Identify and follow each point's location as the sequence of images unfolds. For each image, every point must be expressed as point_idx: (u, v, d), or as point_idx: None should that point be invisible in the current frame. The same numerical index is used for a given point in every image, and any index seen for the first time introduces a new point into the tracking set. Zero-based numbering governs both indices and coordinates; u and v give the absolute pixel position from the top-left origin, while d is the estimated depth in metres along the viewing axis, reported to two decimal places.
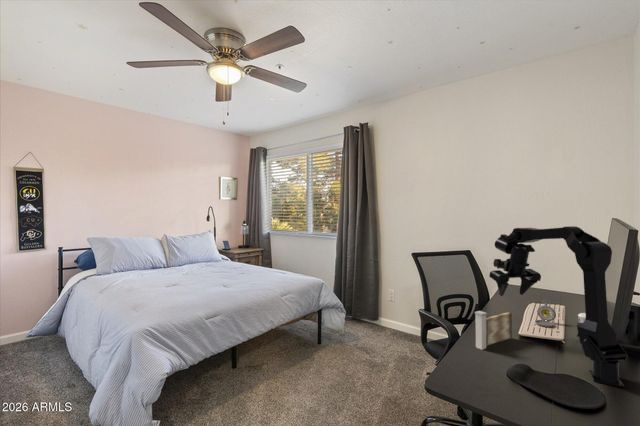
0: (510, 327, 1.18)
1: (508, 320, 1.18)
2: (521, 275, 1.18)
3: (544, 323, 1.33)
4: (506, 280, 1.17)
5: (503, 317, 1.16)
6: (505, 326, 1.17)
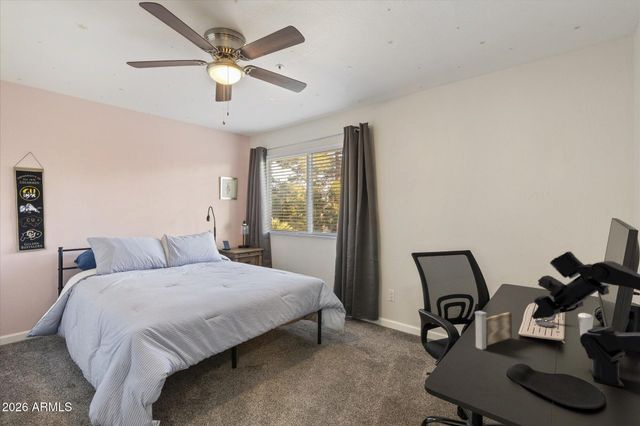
0: (510, 327, 1.18)
1: (508, 320, 1.18)
2: (570, 308, 0.97)
3: (544, 323, 1.33)
4: (556, 314, 0.95)
5: (503, 317, 1.16)
6: (505, 326, 1.17)
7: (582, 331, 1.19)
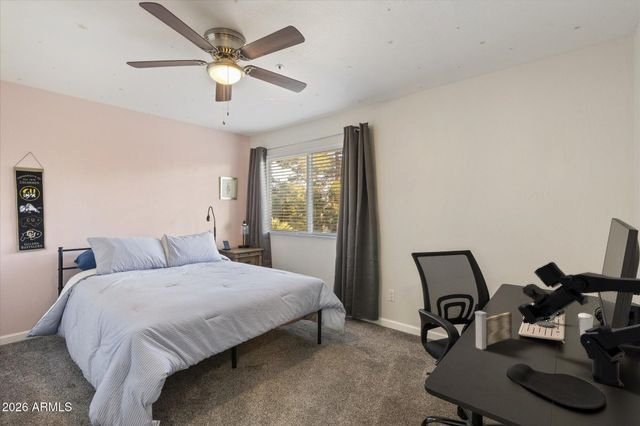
0: (510, 327, 1.18)
1: (508, 320, 1.18)
2: (552, 315, 1.01)
3: (544, 323, 1.33)
4: None
5: (503, 317, 1.16)
6: (505, 326, 1.17)
7: (582, 331, 1.19)
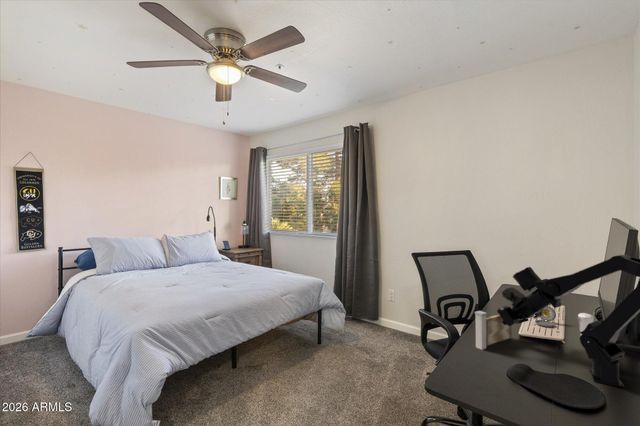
0: (510, 327, 1.18)
1: None
2: (529, 317, 1.08)
3: (544, 323, 1.33)
4: (515, 323, 1.06)
5: None
6: (505, 326, 1.17)
7: None
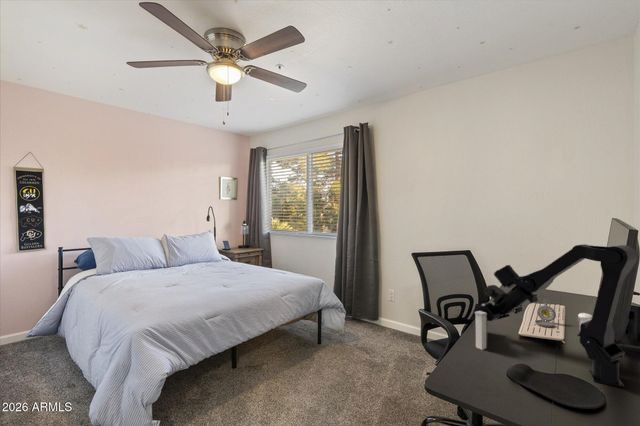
0: None
1: None
2: (509, 313, 1.14)
3: (544, 323, 1.33)
4: (496, 318, 1.12)
5: None
6: None
7: None
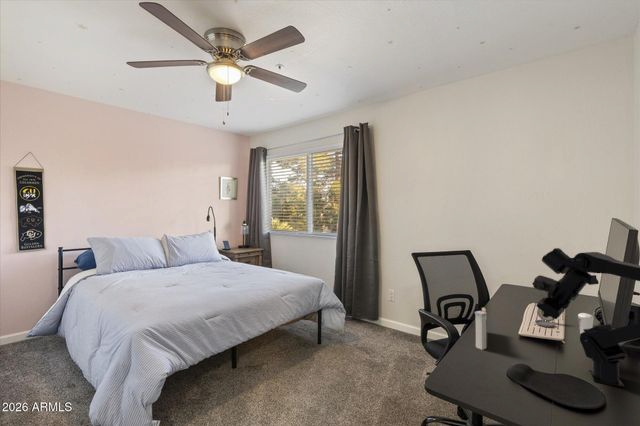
0: None
1: None
2: (570, 302, 0.99)
3: (544, 323, 1.33)
4: (560, 314, 0.97)
5: None
6: None
7: (582, 331, 1.19)
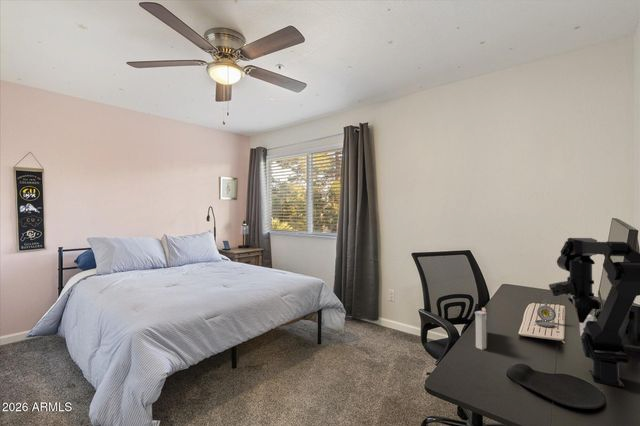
0: None
1: None
2: None
3: (544, 323, 1.33)
4: None
5: None
6: None
7: (582, 331, 1.19)
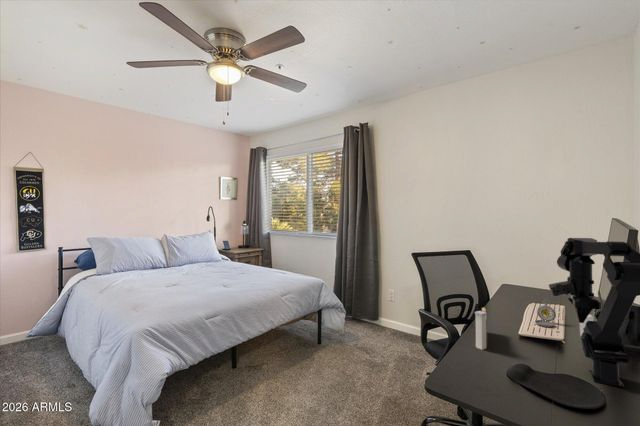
0: None
1: None
2: None
3: (544, 323, 1.33)
4: None
5: None
6: None
7: (582, 331, 1.19)
